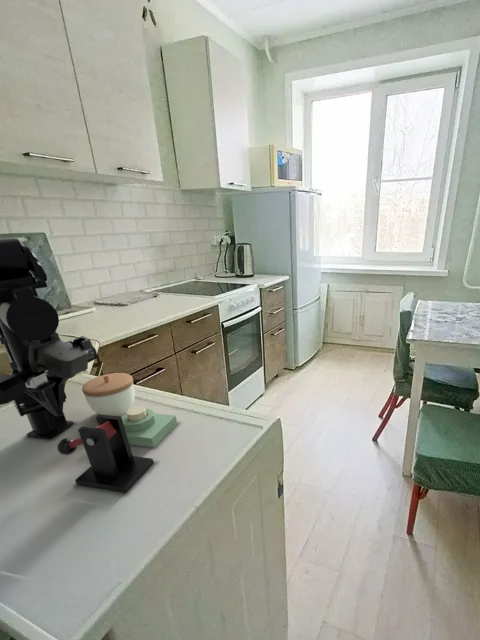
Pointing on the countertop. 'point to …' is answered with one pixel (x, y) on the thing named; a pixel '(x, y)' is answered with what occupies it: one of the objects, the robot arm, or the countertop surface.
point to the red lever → (70, 445)
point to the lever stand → (110, 458)
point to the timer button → (136, 414)
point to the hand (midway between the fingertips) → (58, 415)
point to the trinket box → (110, 393)
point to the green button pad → (148, 428)
